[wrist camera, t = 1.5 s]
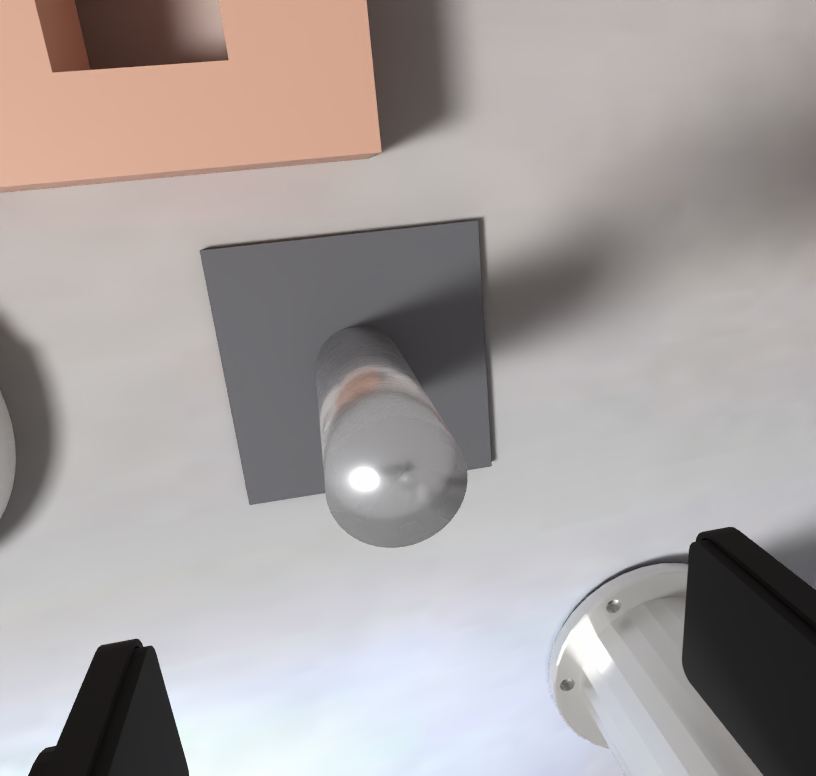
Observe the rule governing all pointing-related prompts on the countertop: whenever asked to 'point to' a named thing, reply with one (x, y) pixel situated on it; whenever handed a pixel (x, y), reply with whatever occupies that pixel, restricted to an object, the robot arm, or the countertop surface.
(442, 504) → the steel pin
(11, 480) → the roll of tape
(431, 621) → the countertop surface
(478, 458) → the rubber mat
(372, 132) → the hole block
